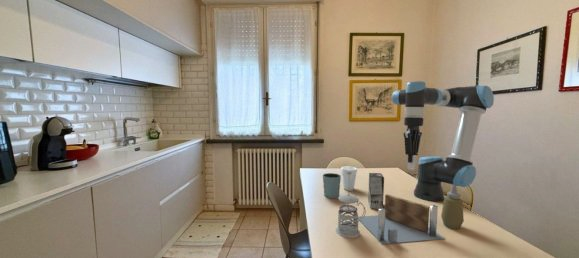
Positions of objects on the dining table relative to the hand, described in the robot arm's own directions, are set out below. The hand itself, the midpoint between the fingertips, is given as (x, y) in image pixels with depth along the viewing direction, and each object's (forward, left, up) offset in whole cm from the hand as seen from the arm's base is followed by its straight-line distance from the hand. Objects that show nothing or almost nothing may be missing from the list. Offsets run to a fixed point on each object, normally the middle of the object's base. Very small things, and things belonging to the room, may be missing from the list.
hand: (410, 169), depth 111 cm
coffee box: (+8, -16, -23) cm, 29 cm away
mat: (+11, +7, -23) cm, 26 cm away
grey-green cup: (+26, -33, -23) cm, 48 cm away
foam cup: (+11, -44, -23) cm, 51 cm away
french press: (+32, +8, -23) cm, 40 cm away
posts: (+12, +16, -23) cm, 30 cm away
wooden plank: (+6, +6, -22) cm, 24 cm away
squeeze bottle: (-13, +10, -23) cm, 28 cm away
